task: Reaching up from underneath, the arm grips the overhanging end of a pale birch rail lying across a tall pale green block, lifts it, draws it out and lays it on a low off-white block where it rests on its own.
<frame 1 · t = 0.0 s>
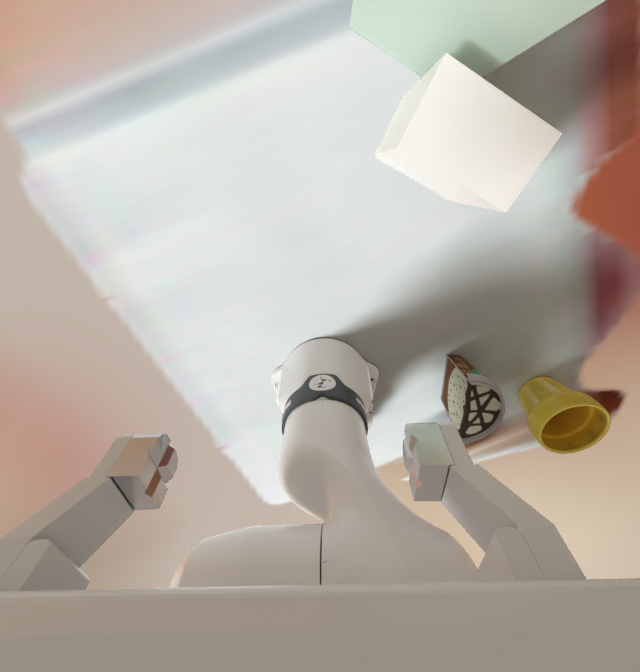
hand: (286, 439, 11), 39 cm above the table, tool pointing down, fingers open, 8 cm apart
plant pot: (536, 390, 57), on the table
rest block: (427, 152, 40), on the table
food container: (460, 376, 56), on the table
pale green block: (424, 16, 35), on the table
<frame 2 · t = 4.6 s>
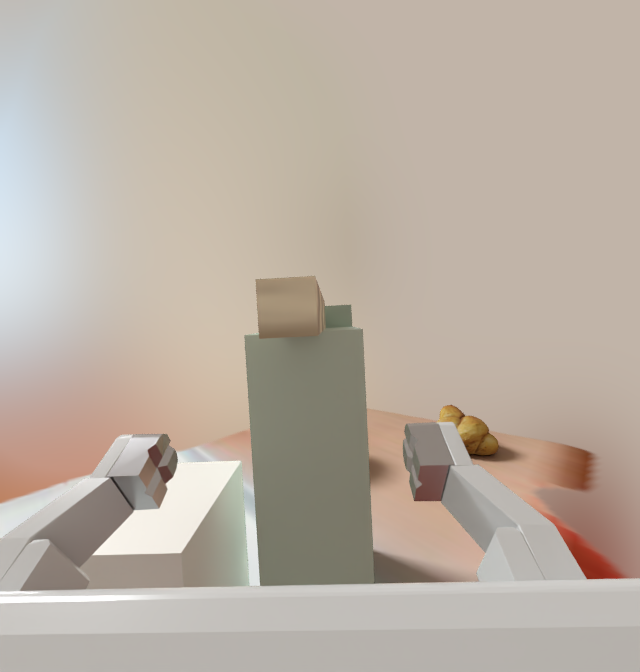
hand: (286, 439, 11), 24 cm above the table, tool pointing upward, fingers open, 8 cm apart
bread roll: (463, 450, 66), on the table
rail: (305, 331, 26), point 27 cm above the table, touching pale green block
pale green block: (324, 595, 32), on the table
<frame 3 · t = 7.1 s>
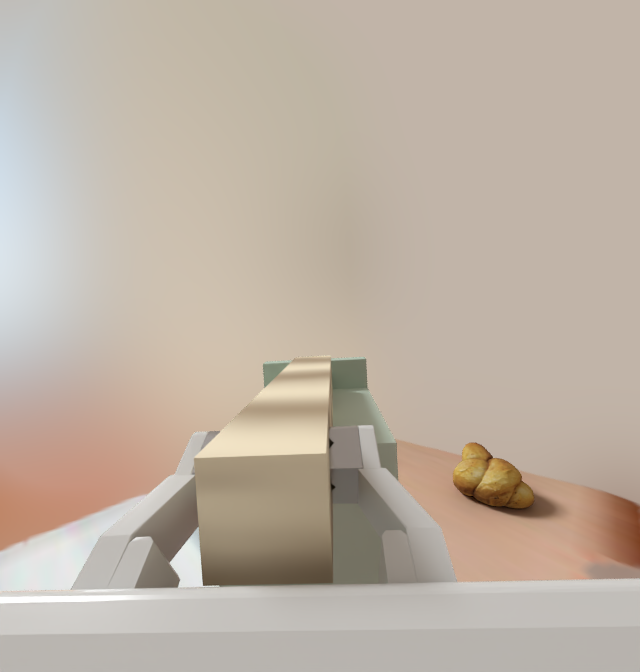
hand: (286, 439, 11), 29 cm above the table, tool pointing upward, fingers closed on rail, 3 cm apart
bread roll: (490, 498, 57), on the table
rail: (305, 431, 17), point 27 cm above the table, touching gripper, pale green block
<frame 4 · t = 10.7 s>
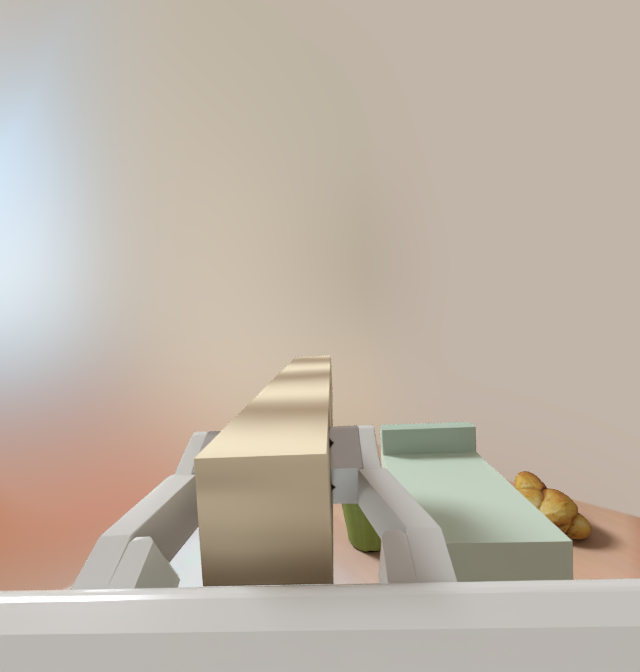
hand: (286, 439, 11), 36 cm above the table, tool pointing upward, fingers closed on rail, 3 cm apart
plant pot 2: (368, 539, 59), on the table
bread roll: (545, 527, 59), on the table
rail: (304, 431, 17), point 35 cm above the table, touching gripper
when the fingers open (19 cm above the table, at t = 14.4 s): rail drops 2 cm, resting on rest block.
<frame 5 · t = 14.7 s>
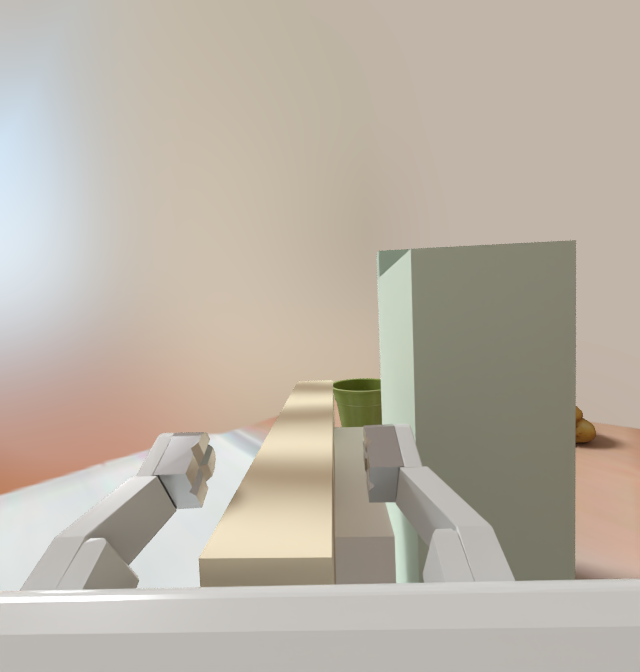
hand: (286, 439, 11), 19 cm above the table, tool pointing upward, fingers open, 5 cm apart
plant pot 2: (364, 445, 58), on the table
bread roll: (549, 437, 59), on the table
rail: (307, 471, 17), point 15 cm above the table, touching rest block
pale green block: (454, 595, 26), on the table
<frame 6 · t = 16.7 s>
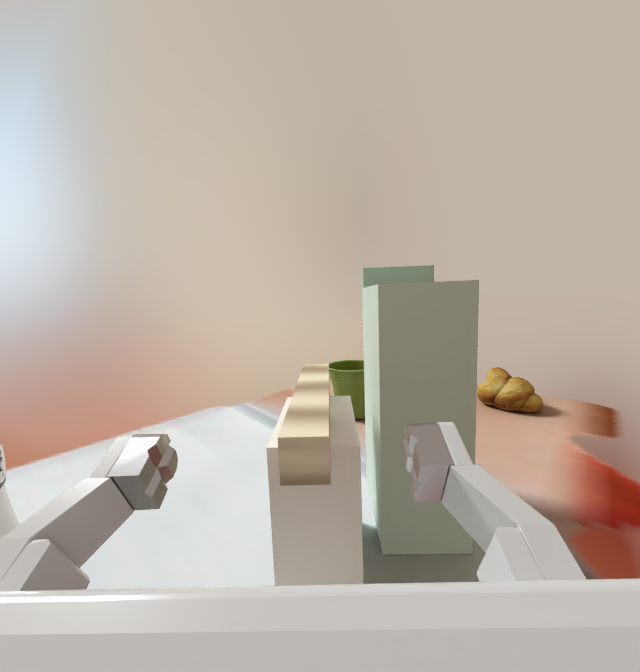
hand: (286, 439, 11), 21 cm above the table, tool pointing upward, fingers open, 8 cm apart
plant pot 2: (354, 415, 70), on the table
bread roll: (507, 408, 71), on the table
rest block: (322, 561, 31), on the table
rail: (313, 420, 29), point 15 cm above the table, touching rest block
pale green block: (409, 508, 39), on the table
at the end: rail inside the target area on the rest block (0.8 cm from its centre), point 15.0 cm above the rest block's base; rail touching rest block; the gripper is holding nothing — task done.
